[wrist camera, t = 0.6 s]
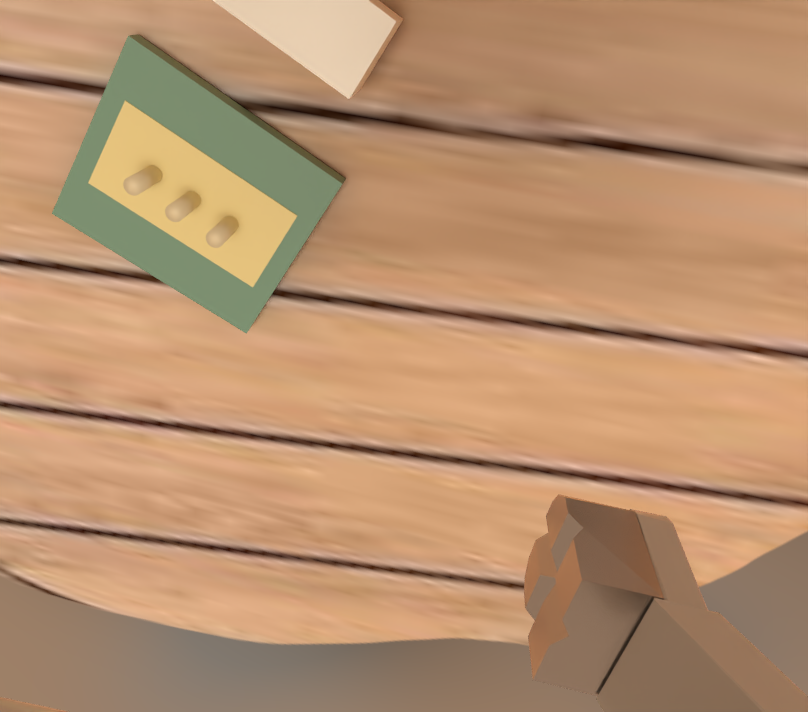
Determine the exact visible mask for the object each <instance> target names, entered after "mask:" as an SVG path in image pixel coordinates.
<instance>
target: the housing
mask: <svg viewBox="0 0 808 712" xmlns="http://www.w3.org/2000/svg"><path fill="white" fill-rule="evenodd" d="M213 1H214V2H215V3H217V4H218V5H220V6H221V7H222V8H224V9H225V10H226V11H228V12H229V13H231V14H232V15H233V16H235V17H236V18H237V19H239V20H240V21H242V22H243V23H244V24H246V25H247V26H249V27H250V28H251V29H253V30H254V31H255V32H257V33H258V34H260V35H261V36H262V37H264V38H265V39H266V40H268V41H269V42H271V43H272V44H273V45H275V46H276V47H278V48H279V49H280V50H282V51H283V52H284V53H286V54H287V55H289V56H290V57H291V58H293V59H294V60H295V61H297V62H298V63H300V64H301V65H302V66H304V67H305V68H307V69H308V70H309V71H311V72H312V73H313V74H315V75H316V76H318V77H319V78H320V79H322V80H323V81H324V82H326V83H327V84H329V85H330V86H331V87H333V88H334V89H335V90H337V91H338V92H340V93H341V94H342V95H344V96H345V97H347V98H348V99H350V98H351V97H352V96H354V95H355V94H356V93H357V92H358V91H359V90H360V89H361V88H362V86H363V85H364V83H365V81H366V80H367V78H368V76H369V75H370V73H371V72H372V70H373V68H374V67H375V65H376V63H377V62H378V60H379V58H380V57H381V55H382V54H383V52H384V50H385V49H386V47H387V45H388V44H389V42H390V41H391V39H392V37H393V36H394V34H395V32H396V31H397V29H398V27H399V26H400V24H401V23H402V21H403V18H401V17H400V16H399V15H397V14H396V13H395V12H394V11H392V10H391V9H390V8H388V7H387V6H386V5H384V4H383V3H382V2H381V1H379V0H213Z"/></svg>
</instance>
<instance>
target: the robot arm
mask: <svg viewBox="0 0 808 712" xmlns="http://www.w3.org/2000/svg"><path fill="white" fill-rule="evenodd" d="M546 519H547V526H548V533H547V534H545V535H544V536H542V537H540V538H539V539H537V540H536V541H535V543H534V546H533V549H532V551H531V554H530V556H529V559H528V564H527V569H526V574H525V583H524V598H525V608H526V610H527V611H528V612H529V614H530V615H531V616H532V617H533V619H534V620H535V622H534V624H533V626H532V628H531V630H530V633H529V635H528V640H529V649H530V658H531V667H532V677H533V680H535V681H539V682H543V683H547V684H551V685H555V686H559V687H563V688H567V689H571V690H575V691H579V692H583V693H587V694H591V695H595V696H597V698H596V700H597V701H598V703H599V704H600V706H601V708H602V709H603V711H604V712H808V696H807V695H806V694H805V693H804V692H803V691H801V690H800V689H799V688H798V687H797V686H796V685H795V684H794V683H793V682H792V681H791V680H790V679H789V678H788V677H787V676H786V675H785V674H784V673H783V672H781V671H780V670H779V669H778V668H777V667H776V666H775V665H774V664H773V663H772V662H771V661H770V660H769V659H768V658H767V657H766V656H764V655H763V654H762V653H761V652H760V651H759V650H758V649H757V648H756V647H755V646H754V645H753V644H752V643H751V642H750V641H748V639H746V638H745V637H744V636H743V635H742V634H741V633H740V632H739V631H738V630H737V629H736V628H735V627H734V626H732V624H731V623H730V622H728V621H727V620H726V619H725V618H724V617H723V616H722V615H721V614H720V613H718V612H713V611H710V610H708V609H707V607H706V604H705V602H704V600H703V597H702V594H701V592H700V589H699V587H698V585H697V582H696V580H695V577H694V575H693V572H692V570H691V567H690V565H689V562H688V560H687V557H686V555H685V552H684V550H683V547H682V545H681V542H680V540H679V537H678V535H677V533H676V530H675V528H674V525H673V523H672V522H671V521H670V520H669V519H668V518H667V517H666V516H661V515H656V514H651V513H647V512H642V511H637V510H632V509H630V510H626V509H621V508H617V507H613V506H608V505H604V504H599V503H595V502H590V501H586V500H581V499H577V498H573V497H568V496H564V495H559V494H558V496H557V497H556V498H555V499H554V501H553V502H552V504H551V506H550V508H549V511H548V513H547V515H546ZM0 712H67V711H63V710H58V709H53V708H49V707H44V706H40V705H35V704H30V703H26V702H21V701H16V700H12V699H7V698H2V697H0Z"/></svg>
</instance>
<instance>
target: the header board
mask: <svg viewBox="0 0 808 712" xmlns="http://www.w3.org/2000/svg"><path fill="white" fill-rule="evenodd" d="M345 179H346V178H344V177H343V176H341V175H340V174H338V173H337V172H336V171H334V170H333V169H331V168H330V167H328V166H327V165H325V164H324V163H323V162H321V161H320V160H318V159H317V158H315V157H314V156H312V155H311V154H310V153H308V152H307V151H305V150H304V149H302V148H301V147H300V146H298V145H297V144H295V143H294V142H292V141H291V140H289V139H288V138H287V137H285V136H284V135H282V134H281V133H279V132H278V131H277V130H275V129H274V128H272V127H271V126H269V125H268V124H266V123H265V122H264V121H262V120H261V119H259V118H258V117H256V116H255V115H253V114H252V113H251V112H249V111H248V110H246V109H245V108H243V107H242V106H241V105H239V104H238V103H236V102H235V101H233V100H232V99H230V98H229V97H228V96H226V95H225V94H223V93H222V92H220V91H219V90H218V89H216V88H215V87H213V86H212V85H210V84H209V83H207V82H206V81H205V80H203V79H202V78H200V77H199V76H197V75H196V74H194V73H193V72H192V71H190V70H189V69H187V68H186V67H184V66H183V65H182V64H180V63H179V62H177V61H176V60H174V59H173V58H171V57H170V56H169V55H167V54H166V53H164V52H163V51H161V50H160V49H158V48H157V47H156V46H154V45H153V44H151V43H150V42H148V41H147V40H146V39H144V38H143V37H141V36H140V35H130V36H128V38H127V40H126V42H125V45H124V47H123V49H122V52H121V54H120V56H119V59H118V61H117V63H116V66H115V68H114V70H113V73H112V75H111V77H110V80H109V82H108V84H107V87H106V89H105V91H104V94H103V96H102V98H101V101H100V103H99V105H98V107H97V110H96V112H95V114H94V117H93V119H92V121H91V124H90V126H89V128H88V131H87V133H86V135H85V138H84V140H83V142H82V145H81V147H80V149H79V152H78V154H77V156H76V159H75V161H74V163H73V166H72V168H71V170H70V173H69V175H68V177H67V180H66V182H65V184H64V187H63V189H62V191H61V194H60V196H59V198H58V201H57V203H56V205H55V208H54V210H53V212H52V214H54V215H55V216H57V217H58V218H60V219H62V220H63V221H65V222H67V223H68V224H70V225H71V226H73V227H75V228H76V229H78V230H80V231H81V232H83V233H84V234H86V235H88V236H89V237H91V238H93V239H94V240H96V241H97V242H99V243H101V244H102V245H104V246H105V247H107V248H109V249H110V250H112V251H114V252H115V253H117V254H118V255H120V256H122V257H123V258H125V259H127V260H128V261H130V262H131V263H133V264H135V265H136V266H138V267H140V268H141V269H143V270H144V271H146V272H148V273H149V274H151V275H152V276H154V277H156V278H157V279H159V280H161V281H162V282H164V283H165V284H167V285H169V286H170V287H172V288H174V289H175V290H177V291H178V292H180V293H182V294H183V295H185V296H187V297H188V298H190V299H191V300H193V301H195V302H196V303H198V304H199V305H201V306H203V307H204V308H206V309H208V310H209V311H211V312H212V313H214V314H216V315H217V316H219V317H221V318H222V319H224V320H225V321H227V322H229V323H230V324H232V325H234V326H235V327H237V328H238V329H240V330H242V331H243V332H245V333H247V332H248V330H249V329H250V327H251V326H252V324H253V323H254V321H255V319H256V318H257V316H258V315H259V313H260V312H261V310H262V309H263V307H264V305H265V304H266V302H267V301H268V299H269V298H270V296H271V295H272V293H273V291H274V290H275V288H276V287H277V285H278V284H279V282H280V281H281V279H282V277H283V276H284V274H285V273H286V271H287V270H288V268H289V267H290V265H291V263H292V262H293V260H294V259H295V257H296V256H297V254H298V252H299V251H300V249H301V248H302V246H303V245H304V243H305V242H306V240H307V238H308V237H309V235H310V234H311V232H312V231H313V229H314V228H315V226H316V224H317V223H318V221H319V220H320V218H321V217H322V215H323V214H324V212H325V210H326V209H327V207H328V206H329V204H330V203H331V201H332V200H333V198H334V196H335V195H336V193H337V192H338V190H339V189H340V187H341V186H342V184H343V182H344V181H345Z"/></svg>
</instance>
